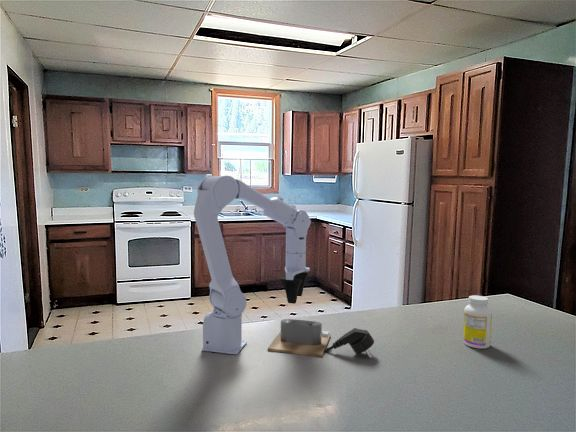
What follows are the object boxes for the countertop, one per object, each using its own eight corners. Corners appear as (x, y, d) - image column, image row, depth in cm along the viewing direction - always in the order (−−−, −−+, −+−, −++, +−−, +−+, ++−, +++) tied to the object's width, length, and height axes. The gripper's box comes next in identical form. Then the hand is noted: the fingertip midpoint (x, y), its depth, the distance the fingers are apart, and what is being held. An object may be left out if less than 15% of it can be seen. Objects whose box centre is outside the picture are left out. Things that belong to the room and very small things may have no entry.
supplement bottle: (474, 338, 114) (477, 293, 113) (495, 347, 108) (498, 299, 107) (457, 342, 111) (459, 295, 110) (478, 351, 105) (480, 302, 104)
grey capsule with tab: (278, 341, 109) (279, 323, 108) (282, 336, 113) (282, 318, 112) (326, 346, 106) (327, 327, 105) (329, 341, 109) (329, 322, 109)
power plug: (323, 344, 107) (362, 320, 104) (340, 369, 106) (379, 345, 104) (322, 353, 101) (363, 328, 99) (339, 379, 101) (381, 354, 99)
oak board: (267, 350, 104) (267, 348, 104) (281, 331, 118) (281, 329, 118) (322, 356, 101) (322, 354, 101) (330, 336, 114) (330, 334, 114)
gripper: (304, 257, 108) (303, 307, 109) (314, 248, 122) (313, 293, 123) (278, 255, 110) (277, 305, 111) (291, 247, 124) (290, 291, 125)
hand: (295, 299), depth 117 cm, fingers open, 7 cm apart
